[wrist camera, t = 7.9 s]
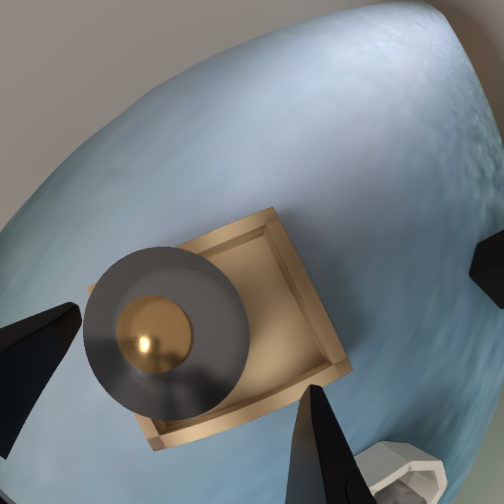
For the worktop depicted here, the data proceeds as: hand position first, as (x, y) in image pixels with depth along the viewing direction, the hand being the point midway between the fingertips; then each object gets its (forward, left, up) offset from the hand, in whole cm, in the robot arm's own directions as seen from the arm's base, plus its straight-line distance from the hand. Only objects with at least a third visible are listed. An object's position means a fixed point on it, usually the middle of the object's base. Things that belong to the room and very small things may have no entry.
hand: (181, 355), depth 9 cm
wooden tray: (0, +1, -10) cm, 11 cm away
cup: (+6, -17, -10) cm, 21 cm away
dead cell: (+6, -17, -10) cm, 21 cm away
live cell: (0, +1, -9) cm, 9 cm away
